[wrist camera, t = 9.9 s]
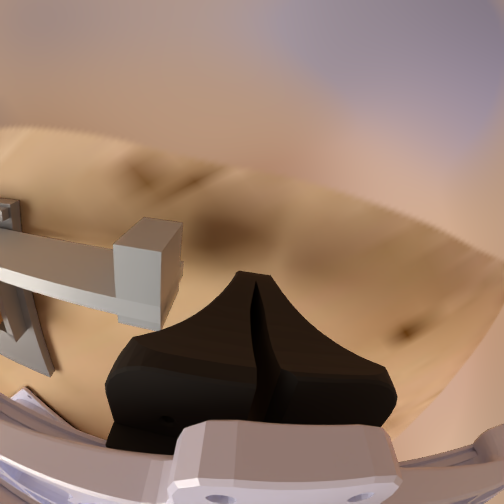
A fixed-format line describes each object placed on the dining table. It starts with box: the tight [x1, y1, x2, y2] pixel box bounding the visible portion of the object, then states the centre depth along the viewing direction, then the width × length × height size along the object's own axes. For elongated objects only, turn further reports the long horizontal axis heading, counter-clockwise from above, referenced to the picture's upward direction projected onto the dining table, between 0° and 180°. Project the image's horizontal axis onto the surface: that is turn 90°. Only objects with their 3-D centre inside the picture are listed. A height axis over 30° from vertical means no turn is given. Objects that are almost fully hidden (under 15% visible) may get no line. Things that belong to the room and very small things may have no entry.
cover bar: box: [0, 217, 184, 331], centre depth 10 cm, size 13×3×4 cm, turn 81°
